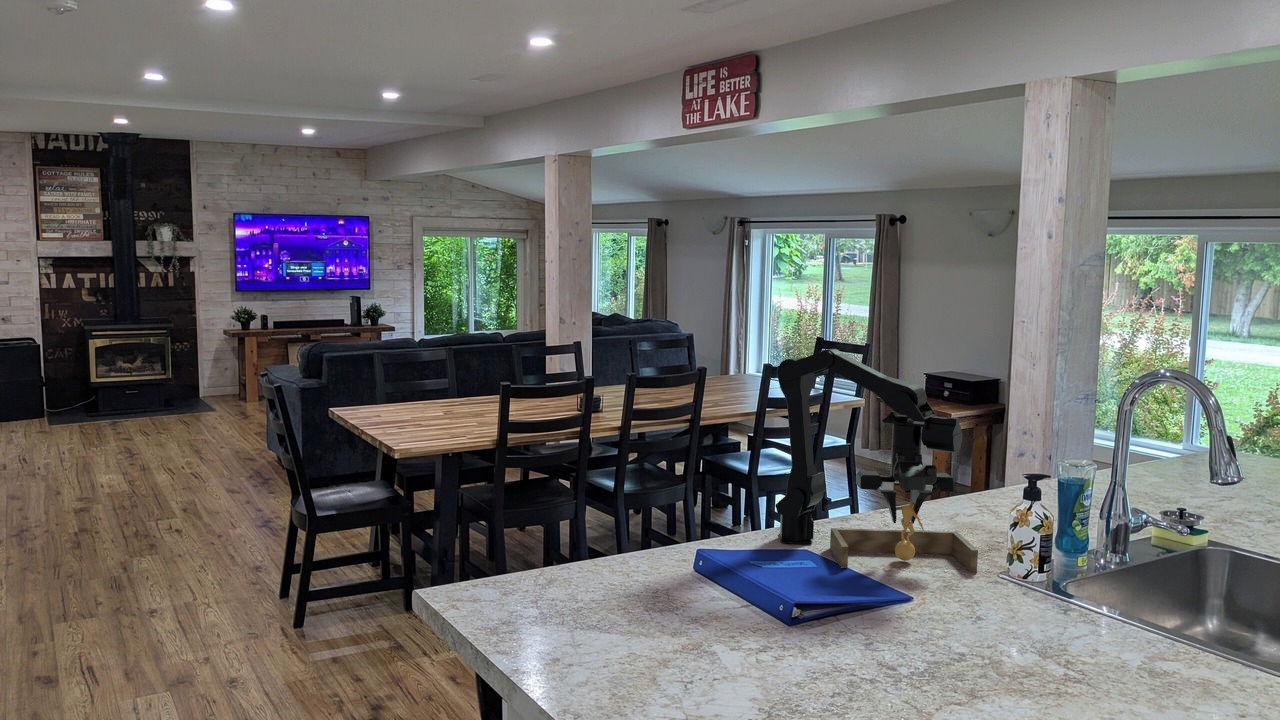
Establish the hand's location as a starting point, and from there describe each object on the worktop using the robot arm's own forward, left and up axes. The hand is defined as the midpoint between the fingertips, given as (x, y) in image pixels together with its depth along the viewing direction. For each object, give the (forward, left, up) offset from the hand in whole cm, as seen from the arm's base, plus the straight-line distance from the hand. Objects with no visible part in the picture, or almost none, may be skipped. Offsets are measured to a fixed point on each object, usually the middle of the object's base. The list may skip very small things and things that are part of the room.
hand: (903, 523), depth 195 cm
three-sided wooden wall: (0, +1, -8) cm, 8 cm away
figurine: (-1, -1, -8) cm, 8 cm away
